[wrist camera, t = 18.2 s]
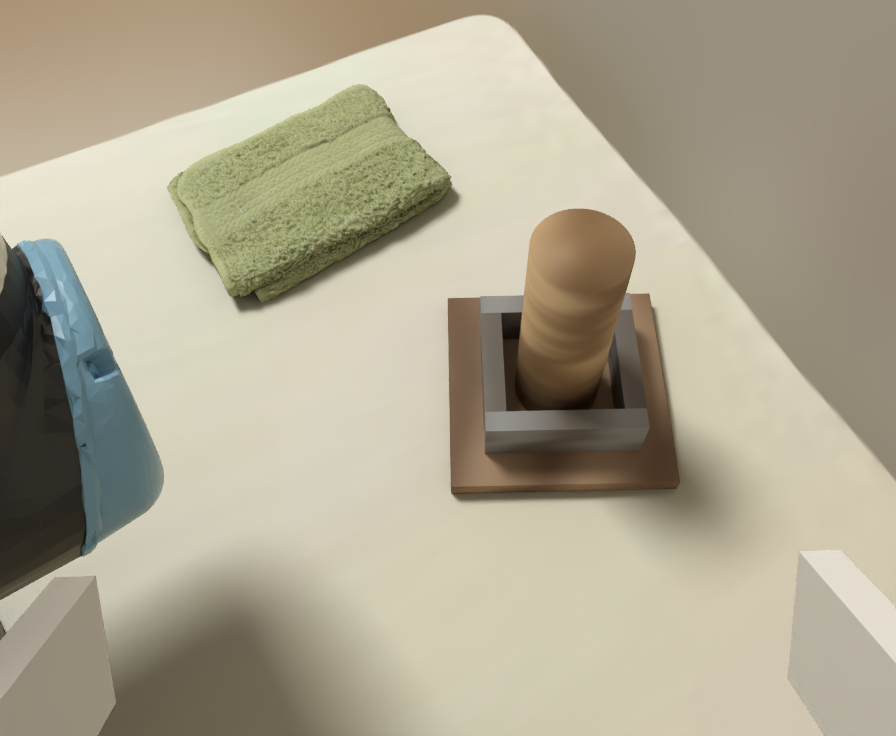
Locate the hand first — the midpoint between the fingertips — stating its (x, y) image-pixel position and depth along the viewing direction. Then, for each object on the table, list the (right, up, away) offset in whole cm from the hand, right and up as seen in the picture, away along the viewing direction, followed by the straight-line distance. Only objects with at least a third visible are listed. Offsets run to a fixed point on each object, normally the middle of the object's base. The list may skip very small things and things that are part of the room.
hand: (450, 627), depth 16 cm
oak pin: (+7, +4, +35) cm, 36 cm away
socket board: (+7, +3, +36) cm, 37 cm away
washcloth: (-10, +17, +45) cm, 49 cm away
